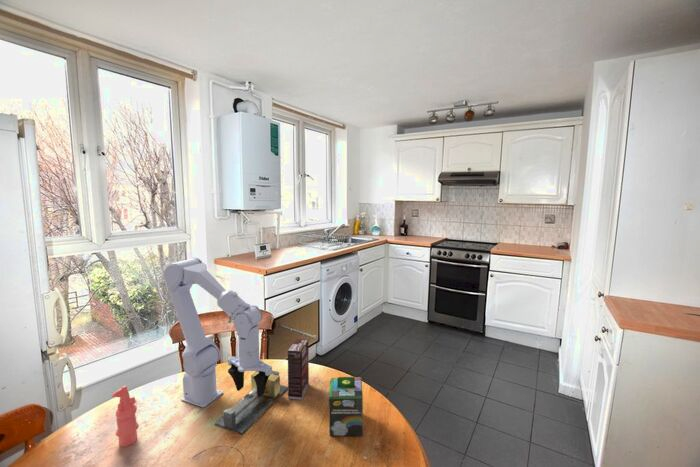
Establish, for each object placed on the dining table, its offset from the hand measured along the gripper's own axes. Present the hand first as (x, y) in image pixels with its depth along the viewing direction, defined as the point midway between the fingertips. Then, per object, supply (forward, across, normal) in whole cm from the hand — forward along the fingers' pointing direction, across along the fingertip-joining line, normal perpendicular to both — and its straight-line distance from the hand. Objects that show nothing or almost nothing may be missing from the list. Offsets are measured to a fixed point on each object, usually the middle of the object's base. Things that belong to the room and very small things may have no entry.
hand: (250, 391), depth 94 cm
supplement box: (+5, +9, +12) cm, 16 cm away
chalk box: (+5, +29, +4) cm, 30 cm away
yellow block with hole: (+5, 0, +7) cm, 9 cm away
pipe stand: (+5, 0, +2) cm, 5 cm away
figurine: (+6, -21, -22) cm, 31 cm away
